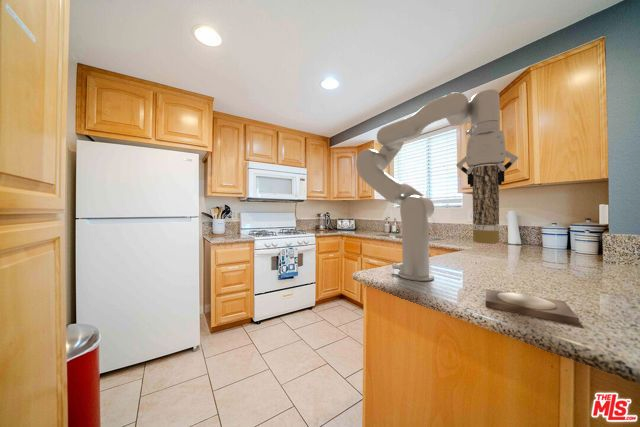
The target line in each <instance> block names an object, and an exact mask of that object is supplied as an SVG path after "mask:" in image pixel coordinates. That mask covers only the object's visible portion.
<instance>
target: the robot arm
mask: <svg viewBox="0 0 640 427" xmlns="http://www.w3.org/2000/svg"><path fill="white" fill-rule="evenodd" d="M500 110H501V109H500V93H499V91H498V90H497V89H485V90H482V91H479V92H477V93H476V94H474V95H473V96H472V97H471V100H468V97H467V95H465V94H464V93H462V92H451V93H449V94H445V95H443V96H439V97H438V98H436V99H434V100H431V101H430V102H427V103H426V104H425V105H424V106H422V107H421V108H419V110H417V112H415V113H414V114H413V115H411V116H409V117H405V118H403V119H400V120H398V121H395V122H393V123H390V124H387V125H385V126H383V127H381V128H379V130H378V131H377V134H376V141H377V143H378V144H379V145H380V146H381V147H380V149H379V151H377V150H376V149H372V148H365V149H362V150H360V151H359V152H358V154H357V156H356V159H355V161H356V162H355V166H356V167H355V168H356V170H357V173H358V175H359V177H360V178H361V180H362V181H363V182H365V183H366V185H368V186H369V187H370V188H372V189H373V190H374V191H375V192H376V193H378V195H380V196H381V197H383V199H385V200H386V201H387V202H389V203H392V204H396V205H399V209H400V210H399V212H400V221H401V239H402V240H401V244H402V248H401V249H402V250H401V252H402V254H401V255H402V257H401V259H402V263H400V264H399V263H392V264H391V267H392V269H393V270H399V271H398V273H397V275H398V276H399V277H400V278H403V279H405V280H410V281H418V282H428V281H433V280H434V277H435V276H434V274H432V273H430V233H429V232H430V229H429V218H430V217H432V216H433V214H434V212H435V205H434V203H433V201H432V200H431V199H430V198H428V197H427V196H426V195H425V194H423V193H421V192H420V191H419V190H417V189H416V188H415V187H413V186H411V185H410V184H408V183H406V182H403V181H400V180H397V179H395V178H394V177H392V176H390V174H388V173H387V172H385V169H387V168H388V166H389V165H390V164H391V163H392V161H393V160H394V158H395V157H396V156H397V155H398V153H399V152H400V150H401V149H402V147H403V145H404V144H405V142H407V141H410V140H413V139H417V138H418V137H420V136H421V134H422V133H423V131H424V129H425V128H426V127H428V126H429V125H431V124H433V123H435V122H437V121H440V120H443V119H446V120H447V121H448V123H449V124H450V125H451V126H462V125H464V124H465V125H466V124H467V123H469V122H470V129H468V130H466V131H465V135H466V136H468V138H467V142H466V151H465V157H463V158H462V159H461V160H460V161H459V162H457V163H456V167H457V168H458V169H459V170H460V171H462V172H463V173H464V174H466V176H467V185H468V186H469V187H470V188H473V168H474V166H477V165H482V164H497V165H498V167H499V172H498V173H499V186H502V184H503V183H505V172H506V171H507V170H508V169H509V168H511V166H512V165H513V164H515V162H517V161H518V160H519V157H518V155H515V154H513V153H511V152H509V151H507V150H506V140H505V135H504V131H503V130H501V127H500V126H501V125H500V124H501V123H500V119H501V118H500V112H501V111H500ZM507 158H508V159H509V161H508V162H507V163H506V164H504V163H505V160H506V159H507ZM465 163H466V166H467V167H468V168H466V167H464V165H465Z"/></svg>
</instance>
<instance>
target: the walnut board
mask: <svg viewBox="0 0 640 427" xmlns="http://www.w3.org/2000/svg"><path fill="white" fill-rule="evenodd" d="M485 308H491V309H497V310H500V311H501V310H502V311H506V312H510V313H516V314H521V315H527V316H531V317H536V318H541V319H546V320H551V321H556V322H560V323H561V322H563V323H566V324H570V325H571V324H573V325H575V326H580V318H579V316H578V315H577V314H576V313H575V312H574V311H573V310H572V309H571V307H570V306H569V305H568V304H567V303H566V301H564V300H558V299H553V298H552V299H550V298H546V297H540V296H534V295H530V294H524V293H516V292H510V291H509V292H508V291H507V292H506V291H503V290H495V289H488V288H486V290H485Z"/></svg>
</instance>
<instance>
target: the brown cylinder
mask: <svg viewBox="0 0 640 427" xmlns="http://www.w3.org/2000/svg"><path fill="white" fill-rule="evenodd" d="M498 172H499V167H498V165H497V164H482V165H477V166H474V168H473V172H472V174H473V187H472V241H473V242H474V243H476V244H477V243H478V244H486V245H488V244H489V245H497V244H499V243H500V191H499V190H500V185H499V173H498Z"/></svg>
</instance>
